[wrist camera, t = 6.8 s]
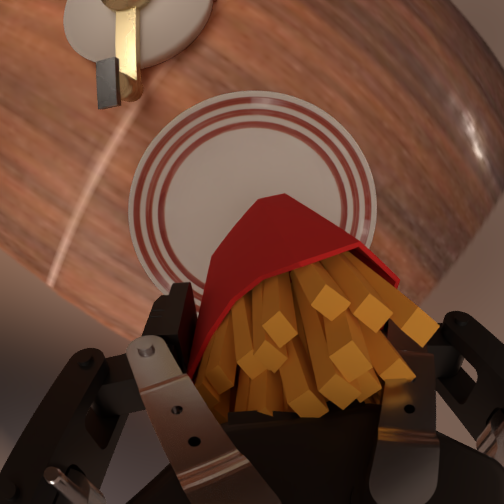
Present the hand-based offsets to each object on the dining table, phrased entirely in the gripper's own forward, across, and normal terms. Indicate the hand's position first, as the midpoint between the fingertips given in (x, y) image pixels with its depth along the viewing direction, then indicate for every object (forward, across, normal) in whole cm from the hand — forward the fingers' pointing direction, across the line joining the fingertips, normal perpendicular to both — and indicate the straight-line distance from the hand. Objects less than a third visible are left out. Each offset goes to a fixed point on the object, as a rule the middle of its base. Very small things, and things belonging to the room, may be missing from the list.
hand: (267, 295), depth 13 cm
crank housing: (+23, +10, -23) cm, 34 cm away
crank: (+18, +10, -17) cm, 27 cm away
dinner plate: (+23, -1, +3) cm, 23 cm away
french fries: (+5, 0, 0) cm, 5 cm away
